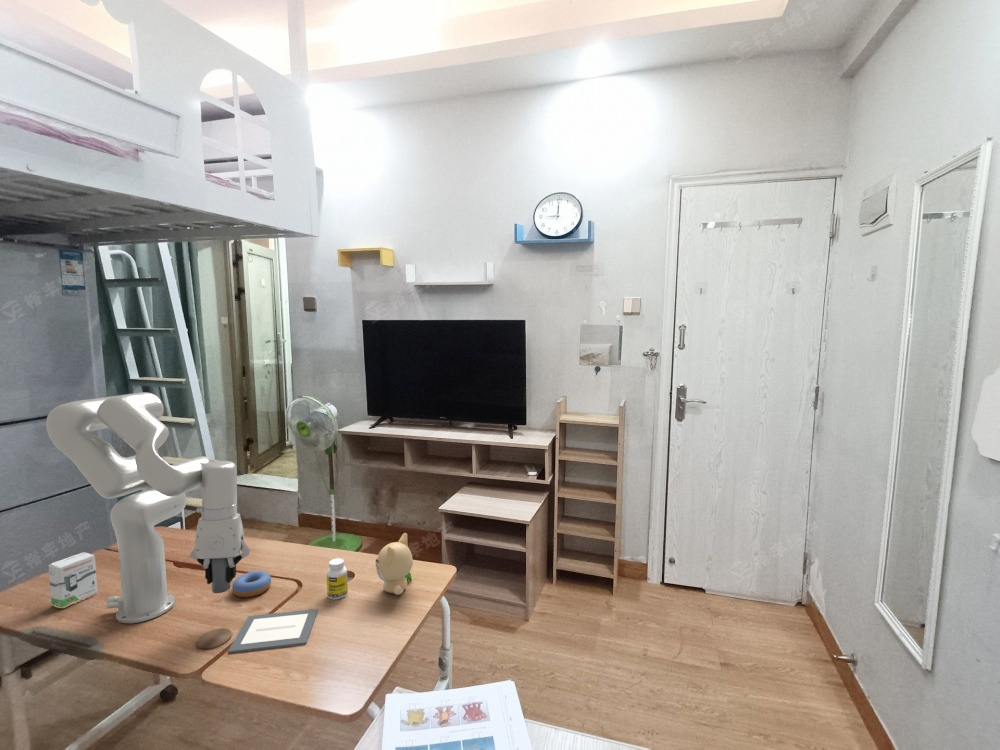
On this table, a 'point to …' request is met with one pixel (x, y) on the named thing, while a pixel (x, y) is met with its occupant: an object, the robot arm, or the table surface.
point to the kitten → (395, 565)
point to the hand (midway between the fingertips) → (220, 579)
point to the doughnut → (251, 584)
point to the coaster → (214, 638)
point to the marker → (219, 575)
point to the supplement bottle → (337, 579)
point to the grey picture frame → (274, 631)
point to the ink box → (72, 579)
